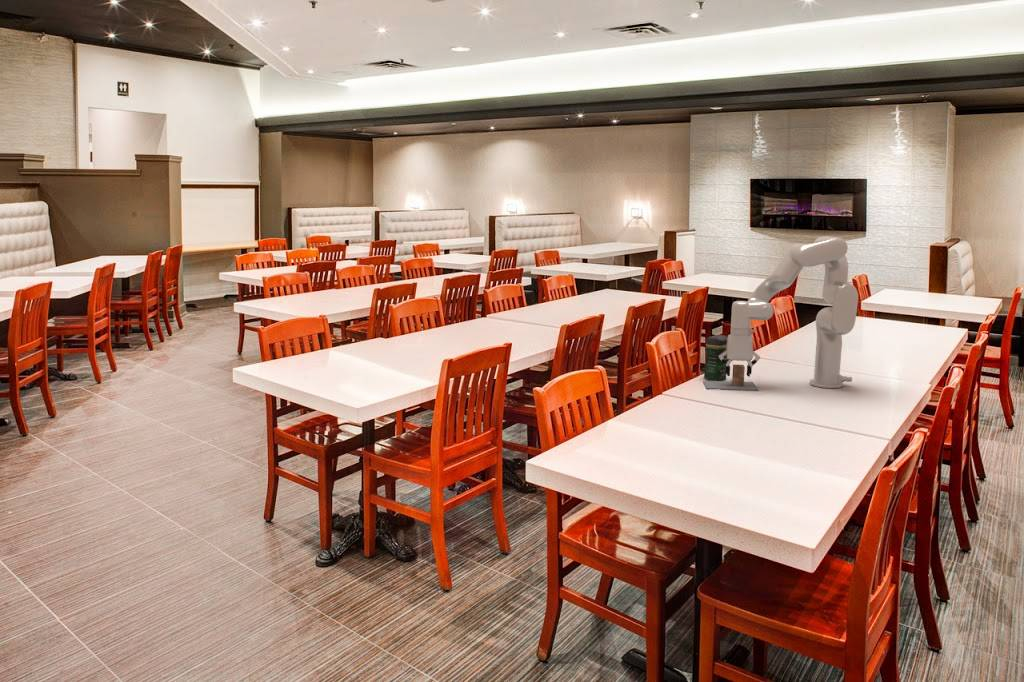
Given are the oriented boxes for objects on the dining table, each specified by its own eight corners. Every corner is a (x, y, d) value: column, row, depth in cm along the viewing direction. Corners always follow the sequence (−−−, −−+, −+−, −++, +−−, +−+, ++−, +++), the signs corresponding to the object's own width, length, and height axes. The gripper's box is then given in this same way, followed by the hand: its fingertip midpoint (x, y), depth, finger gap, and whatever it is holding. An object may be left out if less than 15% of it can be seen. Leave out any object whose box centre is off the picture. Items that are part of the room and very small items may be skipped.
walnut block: (742, 384, 305) (743, 364, 304) (743, 386, 301) (744, 366, 300) (732, 383, 306) (733, 364, 304) (733, 386, 302) (734, 366, 300)
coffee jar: (718, 382, 311) (720, 338, 308) (701, 379, 316) (703, 335, 313) (729, 378, 318) (731, 335, 315) (712, 375, 323) (714, 332, 320)
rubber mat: (752, 383, 309) (752, 381, 309) (758, 390, 296) (758, 389, 296) (702, 381, 312) (702, 380, 311) (706, 389, 299) (706, 387, 299)
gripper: (761, 331, 302) (758, 374, 305) (716, 330, 304) (714, 373, 308) (764, 334, 295) (762, 378, 298) (719, 333, 297) (717, 377, 300)
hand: (738, 375), depth 303 cm, fingers open, 7 cm apart
